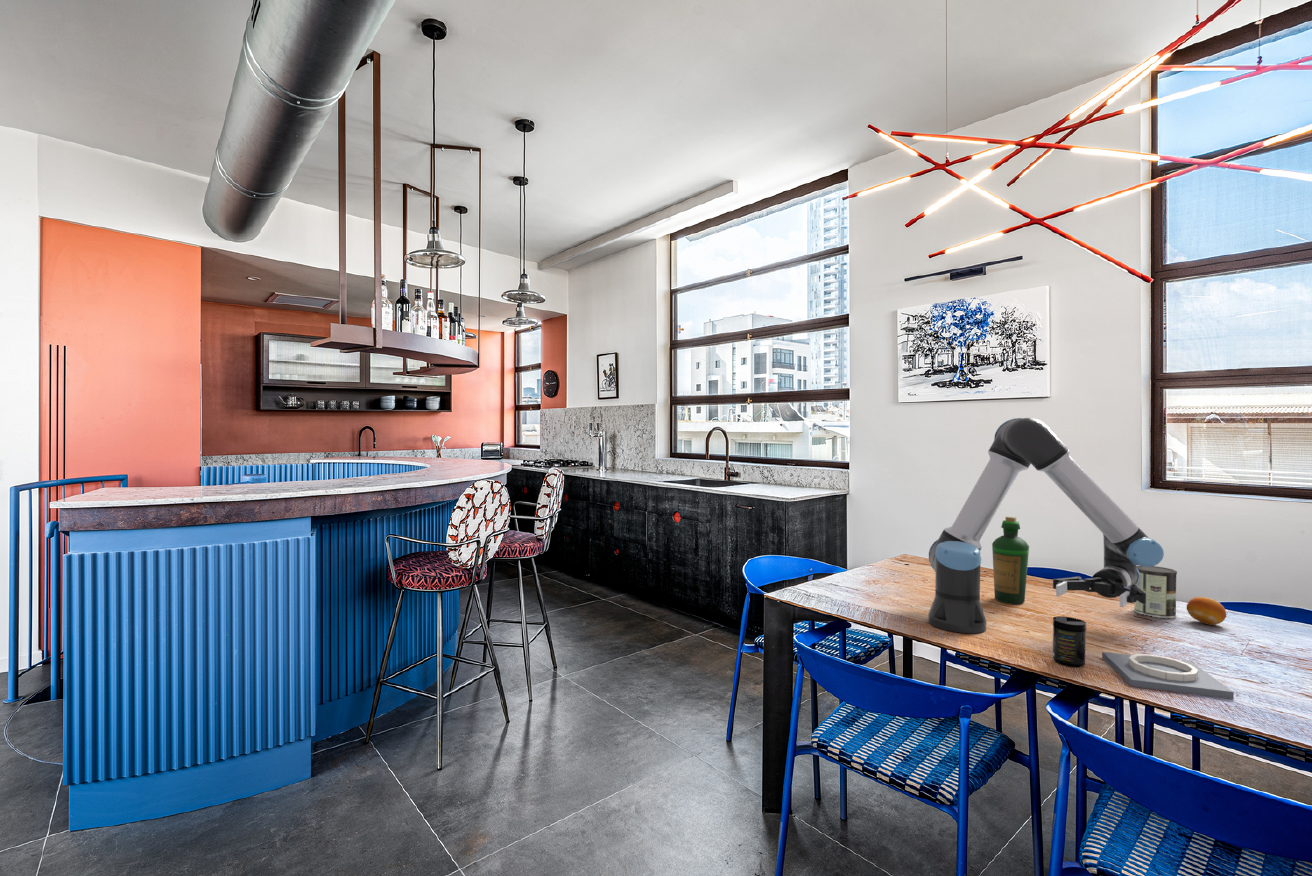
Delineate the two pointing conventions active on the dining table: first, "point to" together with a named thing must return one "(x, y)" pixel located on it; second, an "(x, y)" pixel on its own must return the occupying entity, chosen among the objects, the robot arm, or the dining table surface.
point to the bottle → (1010, 564)
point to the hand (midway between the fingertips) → (1088, 596)
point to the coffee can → (1157, 592)
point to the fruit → (1206, 610)
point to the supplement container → (1069, 641)
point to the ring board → (1166, 674)
